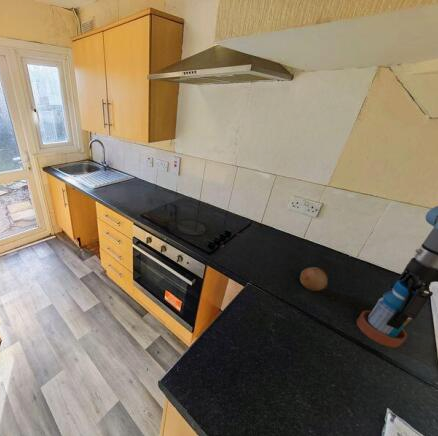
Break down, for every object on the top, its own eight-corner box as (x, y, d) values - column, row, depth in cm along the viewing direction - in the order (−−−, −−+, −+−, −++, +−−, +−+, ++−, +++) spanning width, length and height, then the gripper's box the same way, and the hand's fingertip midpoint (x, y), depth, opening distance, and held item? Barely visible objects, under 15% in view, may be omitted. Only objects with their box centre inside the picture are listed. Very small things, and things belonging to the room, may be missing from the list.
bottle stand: (395, 328, 82) (401, 321, 80) (405, 354, 73) (412, 347, 71) (354, 312, 87) (359, 305, 86) (358, 334, 78) (364, 327, 77)
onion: (316, 299, 92) (326, 280, 88) (292, 284, 100) (300, 266, 95) (326, 290, 97) (336, 272, 93) (302, 277, 105) (310, 259, 100)
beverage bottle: (365, 331, 78) (398, 288, 69) (361, 315, 85) (390, 273, 76) (398, 345, 74) (437, 301, 65) (392, 327, 81) (426, 284, 72)
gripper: (402, 243, 76) (369, 293, 86) (425, 277, 60) (381, 333, 70) (434, 252, 73) (395, 303, 83) (467, 290, 57) (414, 347, 67)
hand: (389, 317), depth 77 cm, fingers closed on beverage bottle, 8 cm apart
